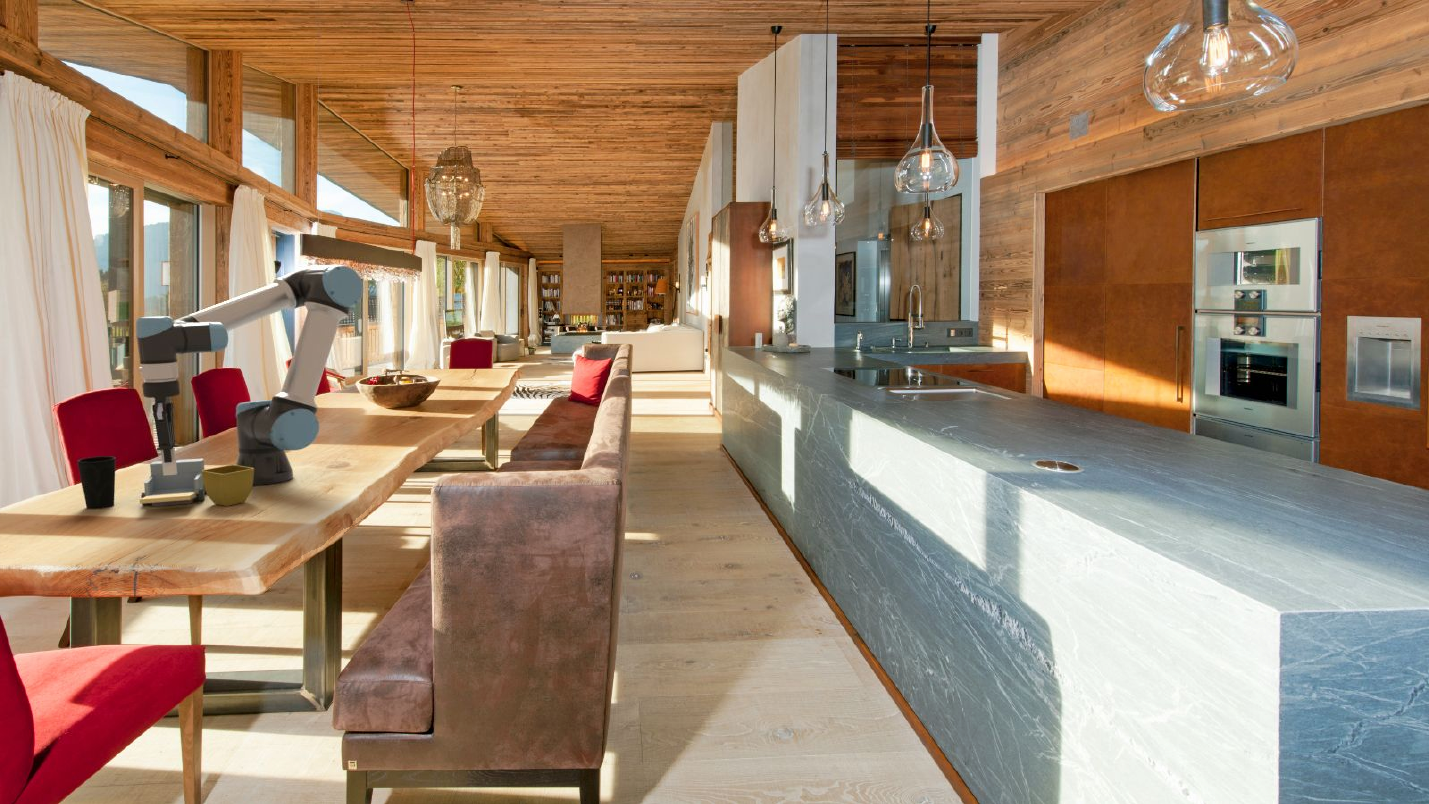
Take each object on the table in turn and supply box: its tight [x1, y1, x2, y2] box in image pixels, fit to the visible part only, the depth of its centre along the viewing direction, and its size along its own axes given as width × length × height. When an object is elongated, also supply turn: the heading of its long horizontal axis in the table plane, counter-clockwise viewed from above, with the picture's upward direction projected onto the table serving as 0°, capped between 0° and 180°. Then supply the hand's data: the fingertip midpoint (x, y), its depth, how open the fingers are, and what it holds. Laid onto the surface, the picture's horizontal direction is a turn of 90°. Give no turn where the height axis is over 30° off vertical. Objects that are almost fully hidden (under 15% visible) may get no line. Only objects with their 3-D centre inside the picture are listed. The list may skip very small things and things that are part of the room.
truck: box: [140, 458, 207, 507], centre depth 215 cm, size 13×14×9 cm
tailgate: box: [139, 492, 197, 505], centre depth 205 cm, size 10×1×9 cm
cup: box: [76, 455, 117, 510], centre depth 207 cm, size 8×8×12 cm
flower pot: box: [201, 464, 254, 507], centre depth 211 cm, size 9×9×9 cm
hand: (170, 474), depth 205 cm, fingers closed
